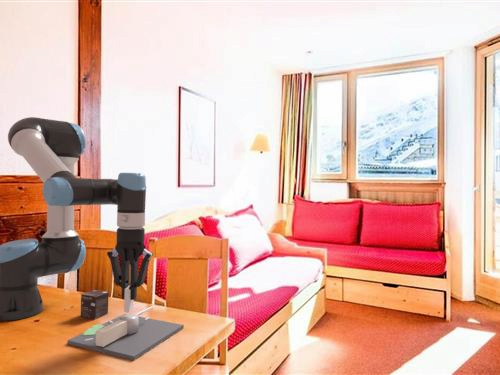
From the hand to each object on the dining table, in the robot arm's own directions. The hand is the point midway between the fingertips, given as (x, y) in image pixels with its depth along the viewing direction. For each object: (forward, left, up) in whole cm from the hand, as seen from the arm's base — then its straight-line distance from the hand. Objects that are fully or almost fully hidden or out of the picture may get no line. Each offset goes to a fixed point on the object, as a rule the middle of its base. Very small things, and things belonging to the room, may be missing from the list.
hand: (128, 310), depth 103 cm
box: (-21, +8, -7) cm, 23 cm away
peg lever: (0, 0, -6) cm, 6 cm away
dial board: (0, 0, -7) cm, 7 cm away
